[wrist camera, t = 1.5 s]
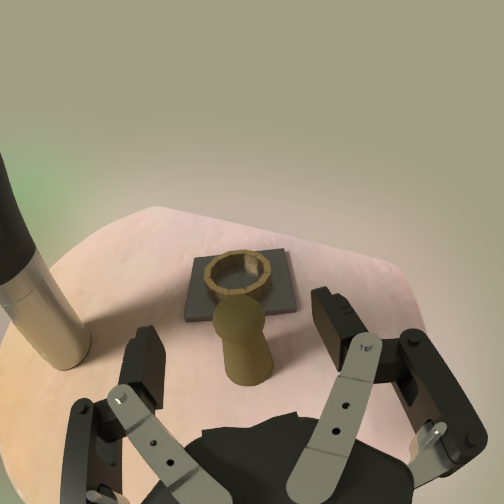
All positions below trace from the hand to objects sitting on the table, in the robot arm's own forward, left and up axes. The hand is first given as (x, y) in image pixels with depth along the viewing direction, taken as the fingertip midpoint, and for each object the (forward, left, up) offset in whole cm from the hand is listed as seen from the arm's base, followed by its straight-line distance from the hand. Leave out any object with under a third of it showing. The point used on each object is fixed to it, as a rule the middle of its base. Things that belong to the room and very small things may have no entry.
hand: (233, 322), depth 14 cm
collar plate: (-2, +25, -20) cm, 32 cm away
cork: (-1, +10, -21) cm, 23 cm away
